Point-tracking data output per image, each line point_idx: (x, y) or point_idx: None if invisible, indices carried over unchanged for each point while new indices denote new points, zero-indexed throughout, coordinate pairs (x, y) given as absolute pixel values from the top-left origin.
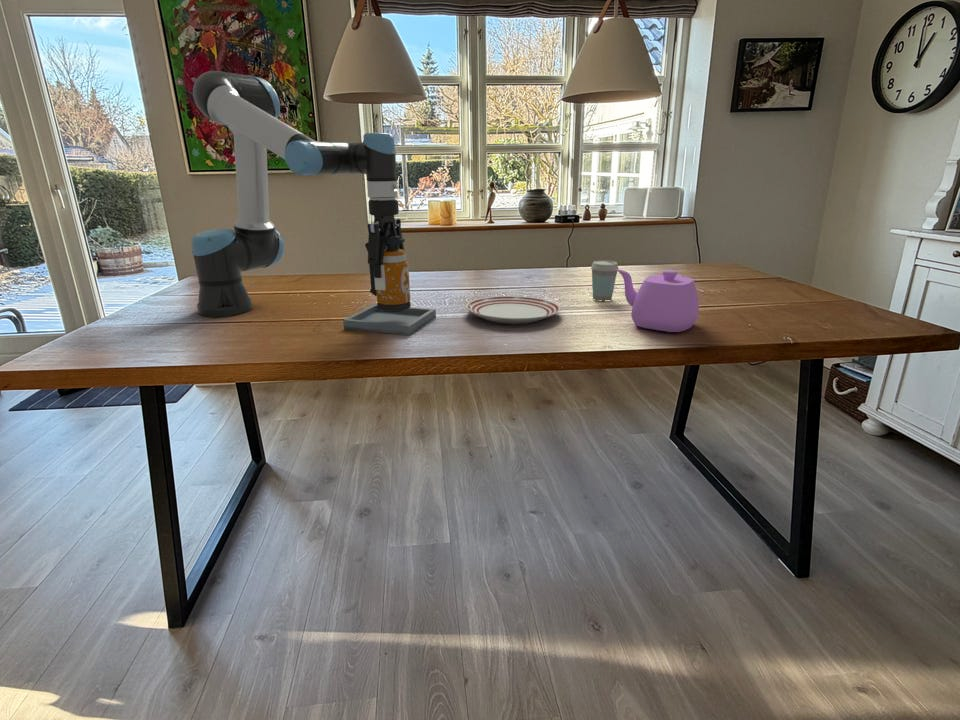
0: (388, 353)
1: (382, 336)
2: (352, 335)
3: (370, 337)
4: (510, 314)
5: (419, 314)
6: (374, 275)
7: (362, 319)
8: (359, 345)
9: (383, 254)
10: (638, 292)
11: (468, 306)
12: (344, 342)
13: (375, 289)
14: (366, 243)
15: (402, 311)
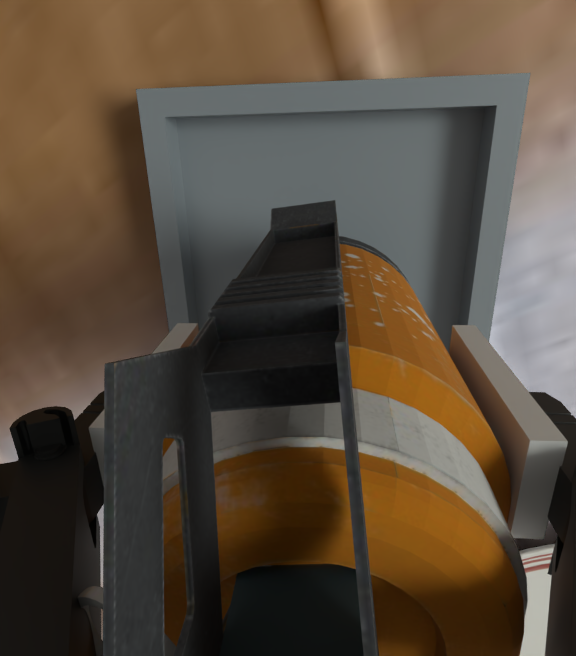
0: (10, 422)
1: (144, 327)
2: (96, 198)
3: (111, 288)
4: (530, 649)
5: None
6: (97, 398)
7: (291, 124)
8: (15, 296)
9: (97, 620)
10: None
11: (542, 555)
12: (9, 219)
13: (176, 325)
14: (108, 424)
15: (466, 280)
